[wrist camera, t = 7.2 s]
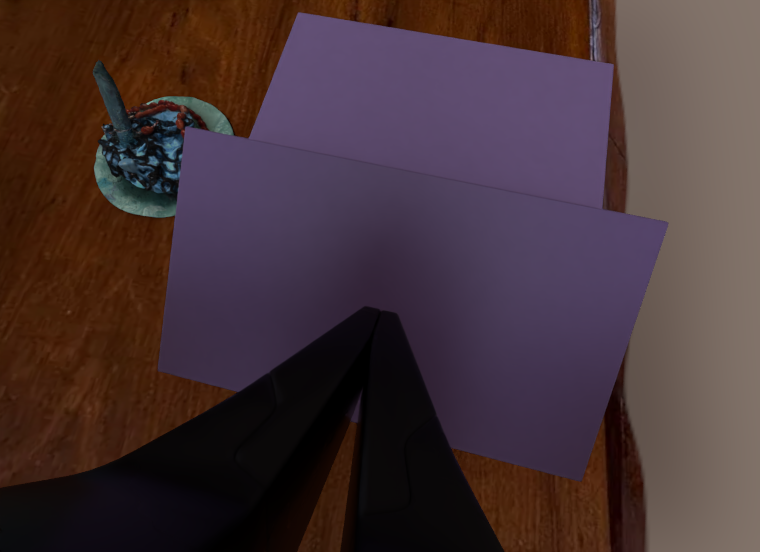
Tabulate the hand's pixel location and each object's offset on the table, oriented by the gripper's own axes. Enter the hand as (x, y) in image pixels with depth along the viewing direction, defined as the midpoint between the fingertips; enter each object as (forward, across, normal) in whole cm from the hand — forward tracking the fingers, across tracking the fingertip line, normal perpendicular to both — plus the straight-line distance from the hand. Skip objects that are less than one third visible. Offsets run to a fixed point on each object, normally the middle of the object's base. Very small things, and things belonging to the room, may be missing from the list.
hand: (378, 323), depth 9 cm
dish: (+14, +16, +1) cm, 22 cm away
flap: (+1, 0, 0) cm, 1 cm away
